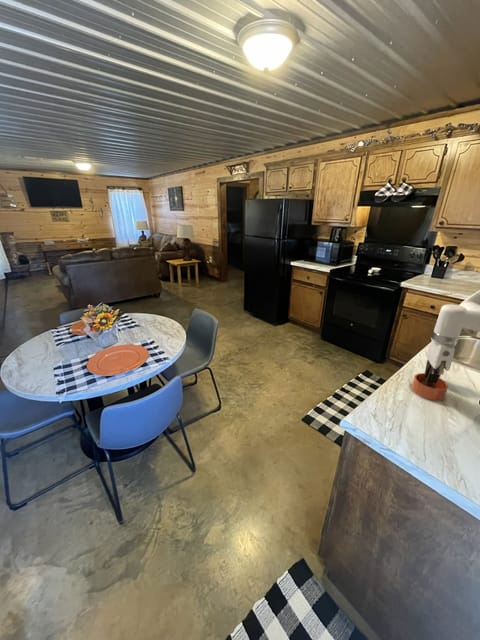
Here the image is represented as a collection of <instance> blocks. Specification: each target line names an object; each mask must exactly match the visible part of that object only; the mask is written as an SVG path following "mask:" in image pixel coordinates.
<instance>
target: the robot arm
mask: <svg viewBox="0 0 480 640" xmlns="http://www.w3.org/2000/svg"><path fill="white" fill-rule="evenodd" d="M463 329H466V330H469V331H474V332H479V333H480V289H479V290H477V291H476V292H474V293H472V294H471V295H470V296H469V297H467V298H465V299H464V300H463V301H462V302H461V303H460V304H450V303H449V304H444V305H442V306H441V308H440V310H439V314H438V317H437V319H436V323H435V326H434V328H433V332H432V335H431V338H430V339H431V342H430V344H429V347H428V350H427V352H426V359H427V360H428V362H429V363H428V366H427V370H426V373H425V372H424V373H425V378H427V377H428V378H427V382H432V383H437V381H438V378H440V377H439V375H440V374H441V375H444V373H445V371H446V372H448V371H450V370H451V366H452V363H453V359H454V355H455V350H456V346H457V344H458V341H459V338H460V336H461V333H462V331H463ZM431 366H432V370H431V373H429V371H430V368H431ZM435 369H438V370H435ZM428 374H429V376H428ZM441 375H440V376H441Z"/></svg>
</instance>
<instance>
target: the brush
mask: <svg viewBox="0 0 480 640" xmlns="http://www.w3.org/2000/svg"><path fill="white" fill-rule="evenodd" d="M431 370H432V366H431V368H430V371H429V373H431ZM435 370H438V369H435ZM428 376H429V374H428ZM427 378H428V377H427ZM421 384H423V385H425V386H427V387H430V388H433V389H435V388H436V386H435V385H434V384H433V383H432V382H427V380H426V381H422V382H421Z"/></svg>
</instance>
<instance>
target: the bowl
mask: <svg viewBox="0 0 480 640" xmlns="http://www.w3.org/2000/svg"><path fill="white" fill-rule="evenodd" d="M426 380H427V378H425V372H423V373H421V372H420V373H416V374H415V375H414V378H413V380H412V384H411V390H412V391H413V392H414V393H415V394H416V395H418V396H419V397H421V398H423V399H426V400H430V401H434V402H435V401H437V402H438V401H443V400H444V399H445V397H446V395H447V392H448V389H449V384H448V383H447V382H446V381H445V380H444V379H443V378H440V377H439V378H438V381H437V383H433V384H434V385H435V386H436V388H435V389H433V388H430V387H427V386H425V385H423V384H421V382H422V381H426Z"/></svg>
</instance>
